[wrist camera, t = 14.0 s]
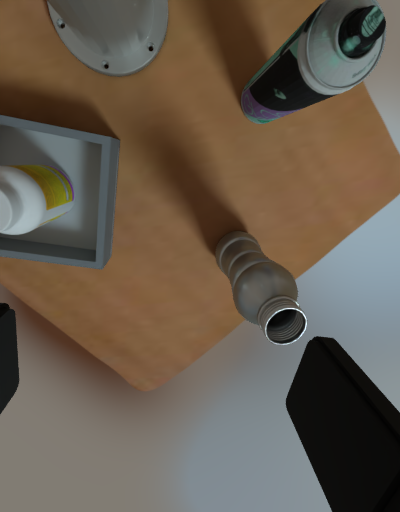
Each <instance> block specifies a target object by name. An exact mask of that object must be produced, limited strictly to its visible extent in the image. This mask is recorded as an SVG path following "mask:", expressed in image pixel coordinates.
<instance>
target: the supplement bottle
mask: <svg viewBox="0 0 400 512" xmlns="http://www.w3.org/2000/svg"><path fill="white" fill-rule="evenodd" d="M75 197H76V193H75V188H74V185H73V183H72V181H71V180H70V178H69V177H68V176H67V175H66V174H65V173H64V172H63V171H61V170H60V169H58V168H56V167H54V166H51V165H44V164H39V165H10V166H0V233H3V234H9V235H19V234H24V233H27V232H30V231H32V230H34V229H36V228H38V227H40V226H42V225H44V224H46V223H48V222H50V221H52V220H54V219H56V218H59V217H61V216H63V215H64V214H66V213H67V212H69V211H70V210H71V208H72V207H73V205H74V202H75Z"/></svg>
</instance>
